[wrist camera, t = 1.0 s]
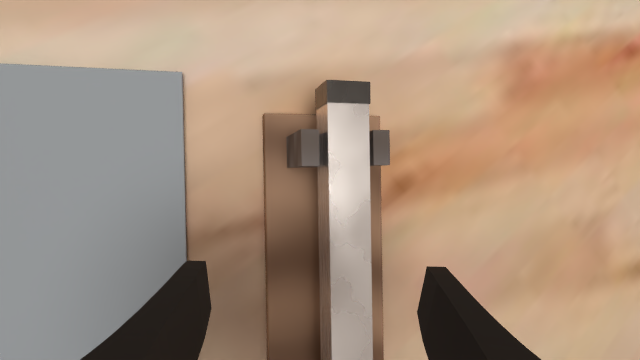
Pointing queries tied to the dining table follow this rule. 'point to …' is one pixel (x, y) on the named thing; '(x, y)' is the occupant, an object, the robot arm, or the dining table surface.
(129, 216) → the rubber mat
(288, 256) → the wooden stand
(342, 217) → the steel rail
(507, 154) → the dining table surface
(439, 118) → the dining table surface
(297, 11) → the dining table surface
